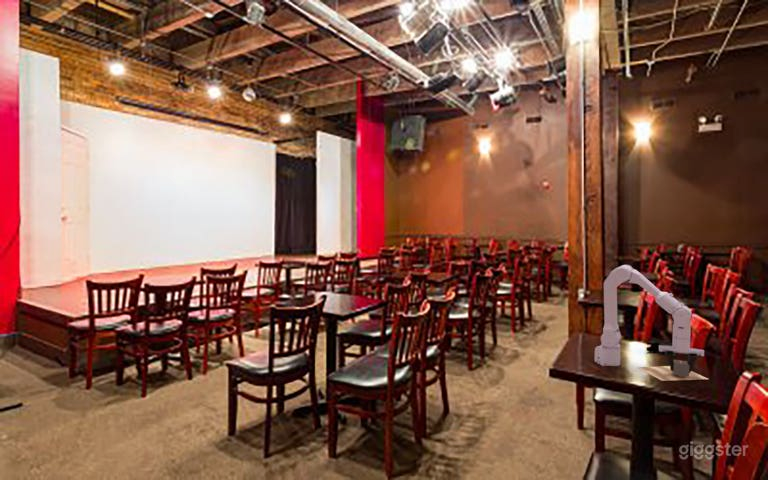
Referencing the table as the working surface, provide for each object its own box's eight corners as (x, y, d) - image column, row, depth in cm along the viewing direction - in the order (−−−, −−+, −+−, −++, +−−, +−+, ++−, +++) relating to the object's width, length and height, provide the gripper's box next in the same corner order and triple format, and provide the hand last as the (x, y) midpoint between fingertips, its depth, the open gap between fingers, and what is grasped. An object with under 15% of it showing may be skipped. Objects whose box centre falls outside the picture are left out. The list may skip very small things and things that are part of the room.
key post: (683, 377, 168) (683, 372, 168) (678, 377, 169) (678, 372, 168) (681, 374, 171) (681, 369, 171) (677, 374, 171) (677, 369, 171)
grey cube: (689, 376, 166) (689, 364, 166) (673, 374, 169) (673, 362, 168) (686, 372, 171) (686, 360, 171) (671, 370, 173) (671, 359, 173)
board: (662, 384, 165) (662, 380, 165) (636, 370, 180) (636, 367, 180) (708, 382, 166) (708, 379, 166) (679, 369, 181) (679, 365, 181)
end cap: (676, 357, 197) (677, 343, 196) (666, 359, 194) (666, 345, 193) (655, 351, 206) (656, 337, 205) (645, 353, 203) (645, 339, 203)
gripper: (701, 336, 169) (700, 370, 170) (658, 332, 176) (657, 365, 176) (705, 341, 163) (704, 376, 164) (660, 337, 169) (659, 370, 170)
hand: (680, 371), depth 170 cm, fingers closed on grey cube, 5 cm apart
